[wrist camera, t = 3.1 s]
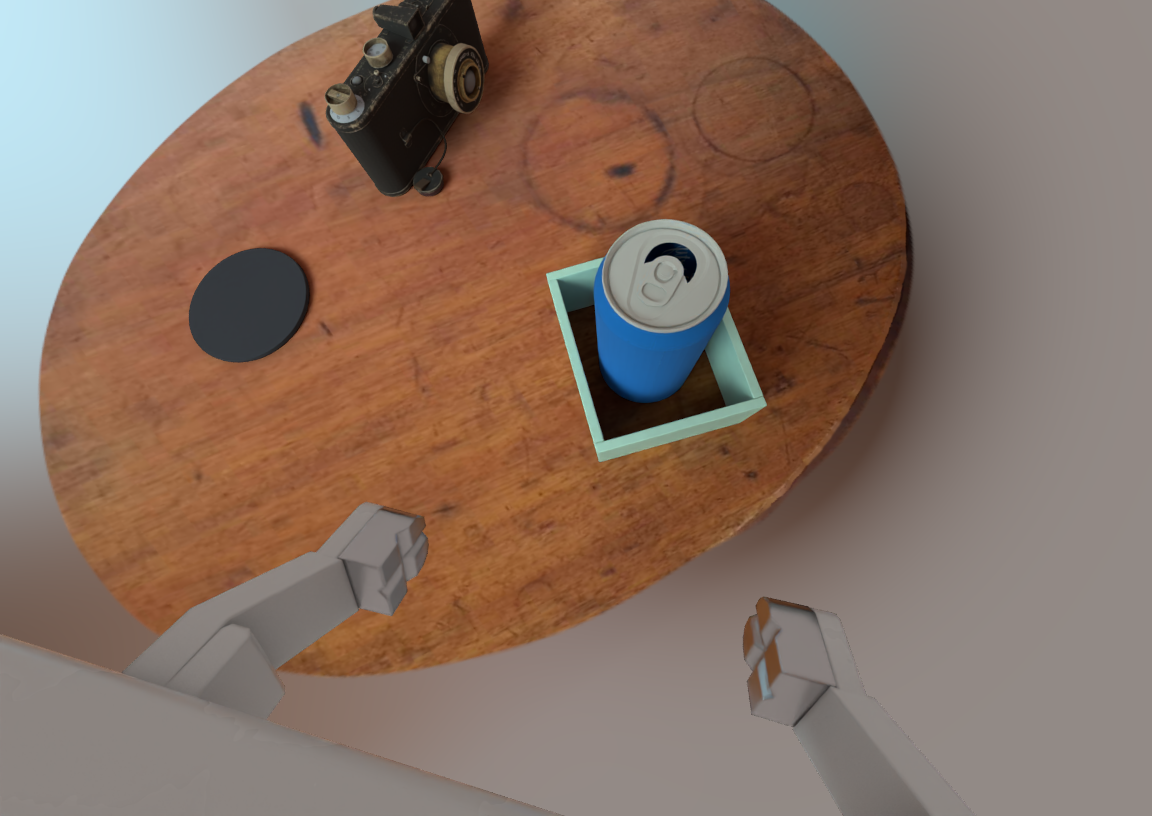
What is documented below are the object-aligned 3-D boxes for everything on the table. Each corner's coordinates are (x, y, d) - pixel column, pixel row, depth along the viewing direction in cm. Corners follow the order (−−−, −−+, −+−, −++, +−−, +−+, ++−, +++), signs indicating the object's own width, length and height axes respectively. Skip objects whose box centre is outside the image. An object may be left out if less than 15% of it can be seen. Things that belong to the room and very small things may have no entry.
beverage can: (704, 345, 30) (763, 245, 19) (662, 421, 29) (697, 365, 18) (625, 307, 31) (634, 190, 20) (583, 379, 30) (566, 300, 19)
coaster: (316, 342, 33) (312, 340, 32) (195, 377, 33) (190, 375, 33) (303, 237, 35) (299, 233, 35) (191, 269, 35) (186, 267, 35)
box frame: (741, 422, 29) (767, 405, 24) (599, 462, 29) (597, 453, 24) (683, 271, 32) (697, 229, 27) (555, 308, 32) (545, 273, 27)
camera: (430, 214, 35) (378, 130, 27) (365, 187, 36) (298, 100, 28) (522, 68, 38) (500, -45, 30) (460, 48, 39) (423, -66, 31)
